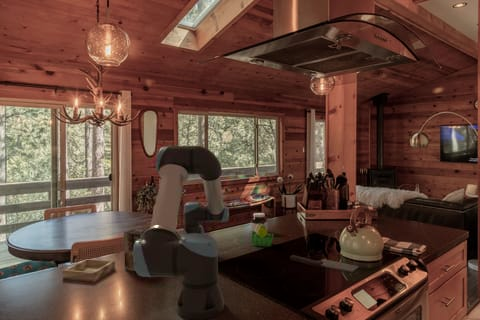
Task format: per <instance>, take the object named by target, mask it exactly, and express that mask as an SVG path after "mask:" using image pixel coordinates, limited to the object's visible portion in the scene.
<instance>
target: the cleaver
mask: <svg viewBox="0 0 480 320" xmlns="http://www.w3.org/2000/svg"><path fill="white" fill-rule="evenodd" d="M289 259H290V260H291V261H294V262H296V263H297V262H298V263H301V264H304V265H310V266H313V267H318V268H320V267H321V268H327V269H333V270H337V271H342V272H347V273H354V272H355V271H357V270H358V269H359V268H360V266H358V265H353V264H349V263H345V262H341V261H340V262H339V261H336V260H335V261H334V260H330V259H323V258H322V259H321V260H319V259H318V260H313V259H310V258H308V257H302V256H299V255H295V254H292V255H290V256H289Z"/></svg>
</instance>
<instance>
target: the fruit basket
mask: <svg viewBox="0 0 480 320" xmlns="http://www.w3.org/2000/svg"><path fill="white" fill-rule="evenodd" d="M250 237H251V240H252V246H253V247H256V246H257V247H271V246H272V243H273V238H274V234H273V233H268V229H266V228H265V226H264V225H261V226H259V228H258V230H257V233H253V232H252V234H251V235H250Z"/></svg>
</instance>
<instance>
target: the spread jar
mask: <svg viewBox="0 0 480 320" xmlns="http://www.w3.org/2000/svg"><path fill="white" fill-rule="evenodd" d="M252 215H253V217H252V218H251V220H250V231H251V233H252V234H253V233H257V230H258V228H259V226H261V225H264V226H265V228H266V229H267V230H268V229H269V228H268V227H269V226H268V225H269V224H268V222H269V221H268V219H267V218H266V216H265V213H264V212H254V213H253V214H252Z"/></svg>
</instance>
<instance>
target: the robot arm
mask: <svg viewBox="0 0 480 320" xmlns="http://www.w3.org/2000/svg"><path fill="white" fill-rule="evenodd" d="M156 154H157V155H156V158H155V160H156V162H155V169H156V172H157V173H158V175H159V177H160V183H159V186H158V192H157V196H156V201H155V204H154V209H153V213H152V218H151V221H150V222H151V223H150V227H149V228H147V229H146V231H145V232H144V235H143V239H138V240H136V242H135V243H134V248H133V262H134V268H135V271H134V272H136V274H137V275H138V276H139V277H144V278H145V277H148V278H181V287H180V290H179V294H178V296H177V300H176V312H177V314H178V316H180V317H182V318H184V319H188V320H206V319H211V318H213V317H216V316H218V315H219V314H221V313H222V312H223V311H224V308H225V300H224V296H223V293H222V291H221V287H220V285H219V263H218V261H219V260H218V259H219V258H218V257H219V250H218V241H217V240H216V239H215V237H212V236H211V235H208V234H205V230H204V227H203V225H201V224H200V223H223V222H228V221H229V218H230V212H229V211H230V210H229V207H228V206H225V205H224V197H223V189H222V183H221V177H222V174H223V171H222V170H223V169H222V164H221V163H220V160H219V159H218V157H217V155H216V154H214V153H213V151H211V150H210V149H208V148H206V147H204V146H202V145H167V146H162V147H161V148H160V149H159V151H158V153H156ZM189 175H199V177H200V179H202V182H203V187H204V193H205V198H206V204H207V206H202V205H201V206H200V203H199V202H196V201H191V202H190V201H189V202H186V203H185V204H184V206H183V227H184V228H183V227H182V228H178V229H177V224H178V223H177V222H178V217H179V211H180V205H181V199H182V193H183V188H184V184H185V182H186V181H187V180H188V179H189Z"/></svg>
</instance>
